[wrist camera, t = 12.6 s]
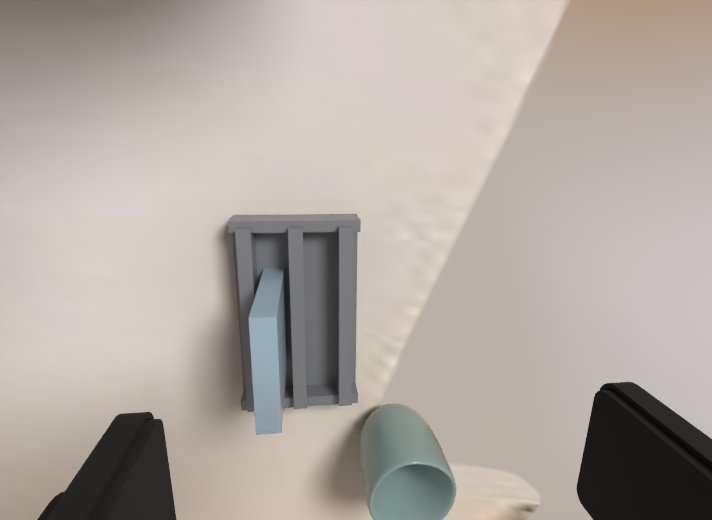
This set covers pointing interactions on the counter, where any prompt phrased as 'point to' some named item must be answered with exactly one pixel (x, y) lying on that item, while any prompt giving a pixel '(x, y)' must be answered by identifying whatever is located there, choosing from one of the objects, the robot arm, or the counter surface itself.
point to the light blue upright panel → (269, 351)
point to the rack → (303, 300)
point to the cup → (404, 467)
